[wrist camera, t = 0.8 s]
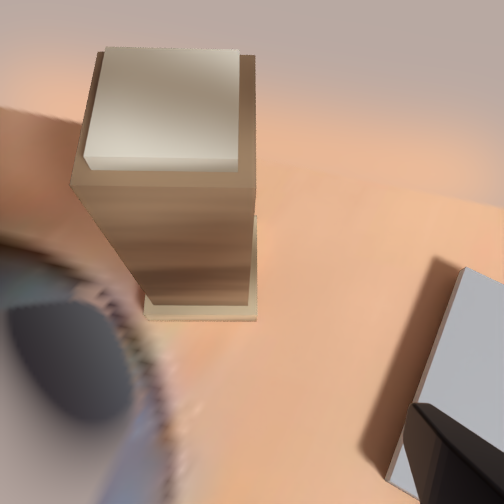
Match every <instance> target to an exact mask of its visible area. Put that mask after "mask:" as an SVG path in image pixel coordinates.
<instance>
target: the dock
mask: <svg viewBox="0 0 504 504" xmlns="http://www.w3.org/2000/svg"><path fill="white" fill-rule="evenodd" d="M413 402H419V403H430V404H432V405H433V406H435V407H436V408H438V409H439V410H441V411H442V412H444V413H445V414H447V415H448V416H450V417H451V418H453V419H454V420H456V421H457V422H459V423H460V424H462V425H463V426H465V427H466V428H468V429H469V430H471V431H472V432H474V433H475V434H477V435H478V436H480V437H481V438H483V439H484V440H486V441H488V442H489V443H491V444H492V445H494V446H495V447H497V448H498V449H500V450H501V451H503V452H504V285H503V284H501V283H499V282H497V281H495V280H493V279H491V278H489V277H486V276H484V275H482V274H480V273H478V272H476V271H474V270H472V269H470V268H468V267H465V268H464V269H462V270H461V271H460V272H459V275H458V277H457V280H456V283H455V286H454V288H453V291H452V294H451V297H450V300H449V302H448V305H447V308H446V311H445V313H444V316H443V319H442V322H441V324H440V327H439V330H438V333H437V336H436V338H435V341H434V344H433V347H432V349H431V352H430V355H429V358H428V360H427V363H426V366H425V369H424V372H423V374H422V377H421V380H420V383H419V385H418V388H417V391H416V394H415V396H414V399H413ZM404 425H405V424H404ZM403 430H404V427H403ZM403 430H402V432H401V435H400V438H399V441H398V443H397V446H396V449H395V452H394V455H393V457H392V460H391V463H390V466H389V468H388V471H387V474H386V477H385V481H386V482H388V483H390V484H391V485H393V486H395V487H397V488H398V489H400V490H402V491H403V492H405V493H407V494H408V495H410V496H412V497H413V498H415V499H417V500H419V498H418V494H417V491H416V487H415V484H414V480H413V477H412V473H411V470H410V466H409V463H408V459H407V456H406V452H405V449H404V445H403Z"/></svg>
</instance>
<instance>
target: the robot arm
mask: <svg viewBox="0 0 504 504" xmlns="http://www.w3.org/2000/svg"><path fill="white" fill-rule="evenodd" d="M403 445H404V449H405V452H406V456H407V459H408V463H409V466H410V470H411V473H412V477H413V480H414V484H415V487H416V491H417V494H418V498H419V501H420V504H504V452H503V451H501V450H500V449H498V448H497V447H495V446H494V445H492V444H491V443H489V442H488V441H486V440H484V439H483V438H481V437H480V436H478V435H477V434H475V433H474V432H472V431H471V430H469V429H468V428H466V427H465V426H463V425H462V424H460V423H459V422H457V421H456V420H454V419H453V418H451V417H450V416H448V415H447V414H445V413H444V412H442V411H441V410H439V409H438V408H436V407H435V406H433V405H432V404H430V403H419V402H412V403H411V404H410V405H409V406H408V410H407V415H406V420H405V425H404V430H403Z"/></svg>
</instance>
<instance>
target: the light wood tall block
mask: <svg viewBox="0 0 504 504" xmlns="http://www.w3.org/2000/svg"><path fill="white" fill-rule="evenodd" d="M255 96H256V93H255V55H239V50H220V49H178V48H136V47H135V48H134V47H106V48H105V52H98V53H97V58H96V63H95V68H94V72H93V77H92V82H91V86H90V91H89V96H88V100H87V105H86V110H85V115H84V119H83V124H82V128H81V133H80V138H79V142H78V147H77V152H76V157H75V161H74V166H73V171H72V175H71V180H70V185H69V186H70V187H71V188H72V190H73V191H74V193H75V194H76V196H77V197H78V198H79V200H80V201H81V203H82V204H83V206H84V207H85V208H86V210H87V211H88V213H89V214H90V215H91V217H92V218H93V220H94V221H95V223H96V224H97V225H98V227H99V228H100V230H101V231H102V233H103V234H104V235H105V237H106V238H107V240H108V241H109V243H110V244H111V245H112V247H113V248H114V250H115V251H116V252H117V254H118V255H119V257H120V258H121V260H122V261H123V262H124V264H125V265H126V267H127V268H128V270H129V271H130V272H131V274H132V275H133V277H134V278H135V280H136V281H137V282H138V284H139V285H140V287H141V288H142V289H143V291H144V292H145V302H144V312H143V315H144V316H145V317H146V318H147V320H148V321H242V322H256V321H257V215H254V212H255V198H256V104H255V103H256V100H255V99H256V97H255Z"/></svg>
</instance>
